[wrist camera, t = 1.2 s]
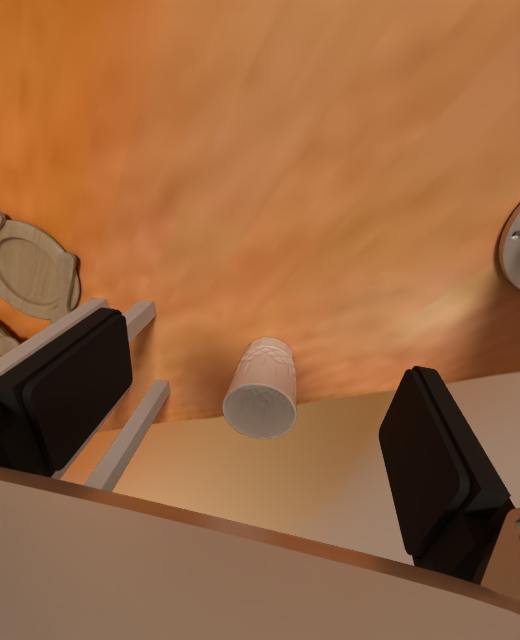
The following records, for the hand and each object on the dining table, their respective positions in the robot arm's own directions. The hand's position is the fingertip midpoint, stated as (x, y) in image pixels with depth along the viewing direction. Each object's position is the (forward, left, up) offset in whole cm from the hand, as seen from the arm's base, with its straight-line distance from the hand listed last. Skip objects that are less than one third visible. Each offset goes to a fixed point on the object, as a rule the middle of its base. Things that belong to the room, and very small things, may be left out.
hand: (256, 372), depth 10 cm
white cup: (+2, +17, -25) cm, 30 cm away
